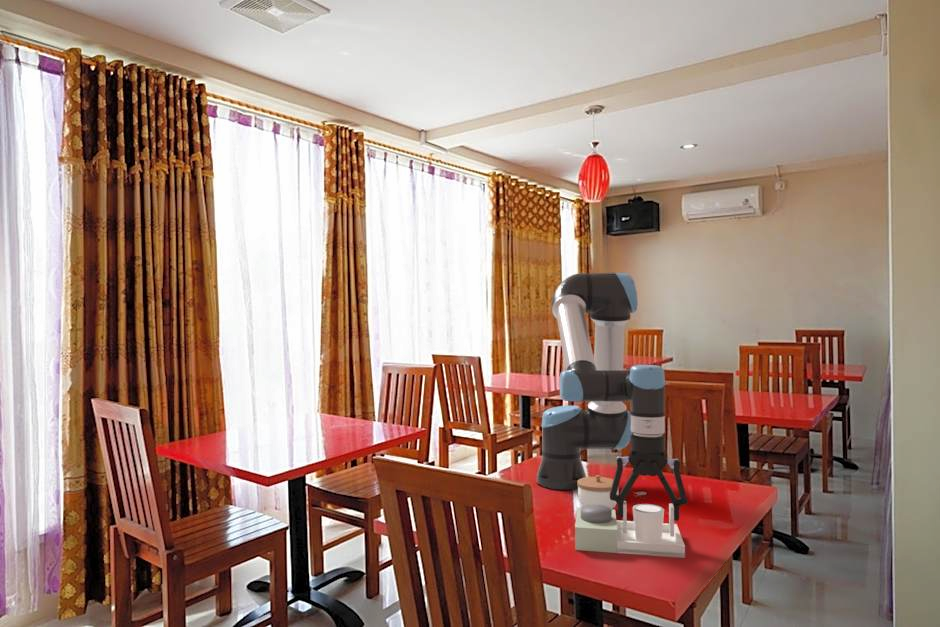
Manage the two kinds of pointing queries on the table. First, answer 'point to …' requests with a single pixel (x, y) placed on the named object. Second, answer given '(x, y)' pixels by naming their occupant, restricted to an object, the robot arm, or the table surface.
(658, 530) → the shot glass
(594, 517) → the knobbed tray panel
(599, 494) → the lidded jar
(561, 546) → the table surface
